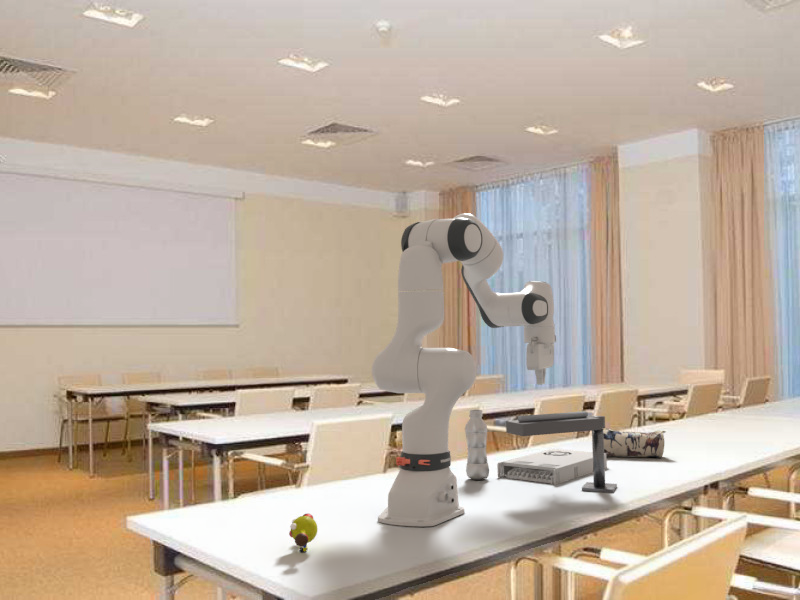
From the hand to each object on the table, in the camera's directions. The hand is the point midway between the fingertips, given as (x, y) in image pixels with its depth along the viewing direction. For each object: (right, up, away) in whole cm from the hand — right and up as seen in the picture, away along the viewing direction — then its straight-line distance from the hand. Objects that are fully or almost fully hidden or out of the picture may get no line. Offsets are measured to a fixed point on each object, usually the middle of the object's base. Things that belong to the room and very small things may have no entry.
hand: (540, 384), depth 217 cm
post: (+12, -26, -17) cm, 34 cm away
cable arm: (+1, -10, -21) cm, 23 cm away
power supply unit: (+5, -28, +8) cm, 30 cm away
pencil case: (+37, -28, +33) cm, 57 cm away
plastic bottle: (-19, -28, -1) cm, 33 cm away
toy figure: (-60, -25, -70) cm, 96 cm away
